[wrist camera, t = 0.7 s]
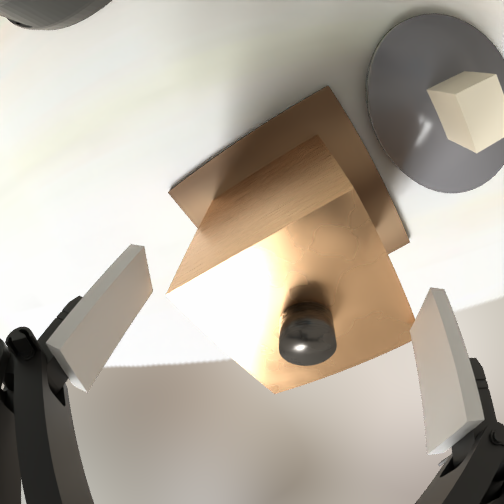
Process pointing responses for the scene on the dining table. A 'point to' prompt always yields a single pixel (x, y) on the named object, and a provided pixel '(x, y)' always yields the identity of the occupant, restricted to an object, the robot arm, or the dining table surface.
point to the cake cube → (470, 109)
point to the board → (285, 139)
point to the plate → (429, 100)
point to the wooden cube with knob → (293, 274)
